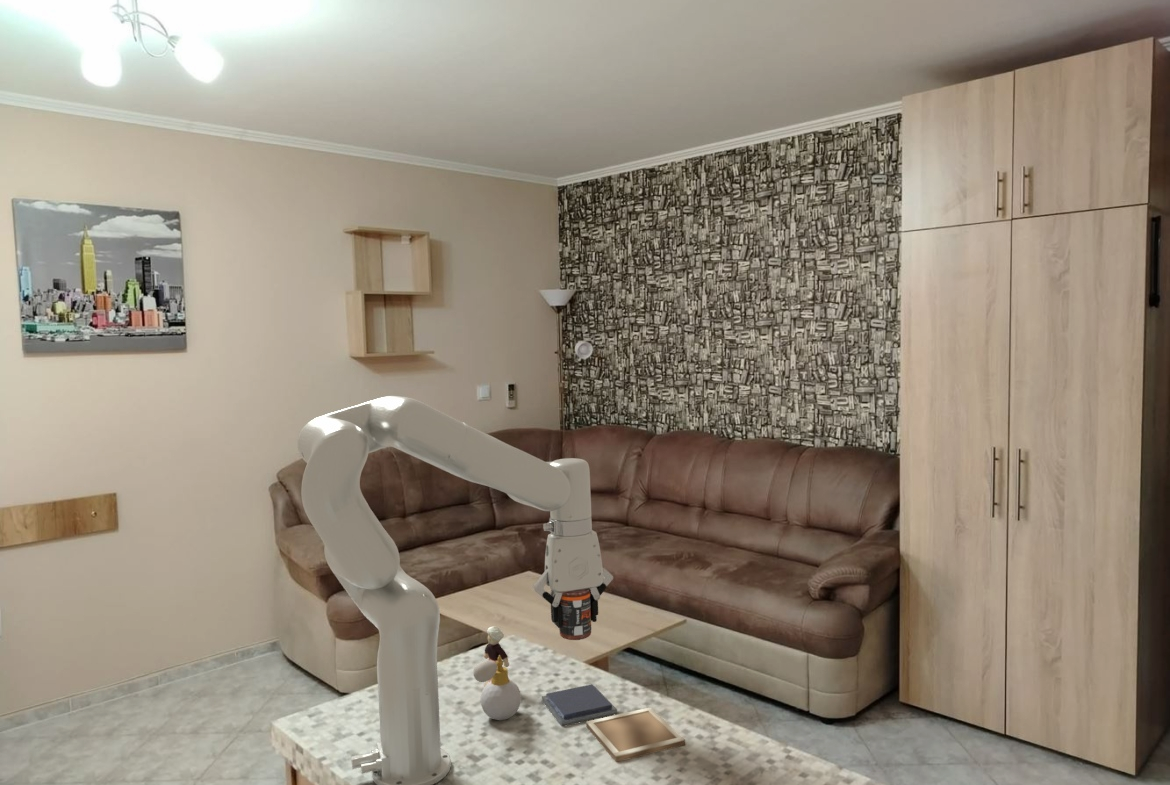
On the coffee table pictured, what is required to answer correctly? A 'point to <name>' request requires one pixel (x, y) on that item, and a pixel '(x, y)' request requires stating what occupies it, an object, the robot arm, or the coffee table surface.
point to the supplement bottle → (576, 614)
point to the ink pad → (578, 705)
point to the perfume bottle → (497, 690)
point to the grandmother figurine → (495, 647)
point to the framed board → (634, 734)
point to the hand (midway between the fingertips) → (575, 621)
